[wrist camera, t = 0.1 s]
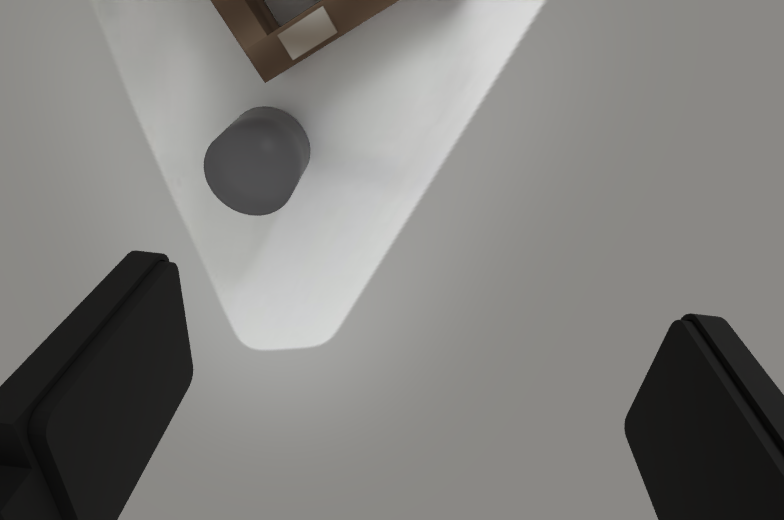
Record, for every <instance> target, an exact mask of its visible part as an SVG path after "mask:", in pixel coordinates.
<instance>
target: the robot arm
mask: <svg viewBox="0 0 784 520" xmlns="http://www.w3.org/2000/svg"><path fill="white" fill-rule="evenodd" d="M192 376H193V364H192V357H191V350H190V344H189V337H188V330H187V324H186V317H185V311H184V304H183V298H182V292H181V285H180V278H179V271H178V267H177V265H176V264H175V263H172V262H169V259H168V257H167V256H166V255H165V254H161V253H152V252H144V251H131V252H130V253H128V254H127V256H126V257H125V258H124V259H123V260H122V261H121V262H120V263H119V264H118V265H117V266H116V267H115V268H114V269H113V270H112V271H111V272H110V273H109V274H108V275H107V276H106V277H105V278H104V279H103V280H102V281H101V282H100V283H99V285H98V286H97V287H96V288H95V289H94V290H93V291H92V292H91V293H90V294H89V295H88V296H87V297H86V298H85V299H84V300H83V301H82V302H81V303H80V304H79V305H78V306H77V307H76V308H75V309H74V311H73V312H72V313H71V314H70V315H69V316H68V317H67V318H66V319H65V320H64V321H63V322H62V323H61V324H60V325H59V326H58V327H57V328H56V329H55V330H54V331H53V332H52V333H51V334H50V335H49V336H48V338H47V339H46V340H45V341H44V342H43V343H42V344H41V345H40V346H39V347H38V348H37V349H36V350H35V351H34V352H33V353H32V354H31V355H30V356H29V357H28V358H27V359H26V360H25V361H24V363H22V365H21V366H20V367H19V368H18V369H17V370H16V371H15V372H14V373H13V374H12V375H11V376H10V377H9V378H8V379H7V380H6V381H5V382H4V383H3V384H2V385H1V386H0V520H117V519H118V517H119V515H120V514H121V512H122V510H123V508H124V506H125V504H126V502H127V501H128V499H129V497H130V495H131V493H132V491H133V490H134V488H135V486H136V484H137V482H138V480H139V478H140V477H141V475H142V473H143V471H144V469H145V467H146V466H147V464H148V462H149V460H150V458H151V456H152V454H153V452H154V451H155V449H156V447H157V445H158V443H159V441H160V439H161V438H162V436H163V434H164V432H165V430H166V429H167V427H168V425H169V423H170V421H171V419H172V417H173V416H174V414H175V411H176V410H177V408H178V406H179V404H180V403H181V401H182V399H183V397H184V395H185V393H186V392H187V390H188V388H189V386H190V383H191V380H192ZM625 434H626V438H627V440H628V443H629V446H630V448H631V451H632V453H633V456H634V458H635V461H636V463H637V466H638V469H639V471H640V474H641V476H642V479H643V481H644V484H645V486H646V489H647V491H648V494H649V497H650V499H651V502H652V504H653V507H654V509H655V512H656V515H657V517H658V519H659V520H784V395H783V394H782V392H781V391H780V390H779V389H778V387H777V386H776V385H775V383H774V382H773V381H772V380H771V378H770V377H769V376H768V374H767V373H766V372H765V371H764V369H763V368H762V366H760V364H759V363H758V361H757V360H756V359H755V358H754V356H753V355H752V354H751V352H750V351H749V350H748V348H747V347H746V346H745V345H744V343H743V342H742V341H741V339H740V338H739V337H738V335H737V334H736V333H735V332H734V330H733V329H732V328H731V326H730V325H729V324H728V323H727V321H726V320H724V319H723V318H721V317H716V316H707V315H698V314H686V315H685V316H683V317H682V318H681V320H676V321H674V322H673V323H672V324H671V326H670V328H669V330H668V332H667V334H666V336H665V338H664V340H663V342H662V344H661V346H660V348H659V350H658V352H657V354H656V357H655V359H654V361H653V363H652V365H651V367H650V369H649V371H648V373H647V375H646V377H645V379H644V381H643V383H642V385H641V387H640V389H639V391H638V393H637V396H636V397H635V400H634V402H633V404H632V406H631V408H630V410H629V412H628V414H627V416H626V419H625Z"/></svg>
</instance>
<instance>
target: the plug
mask: <svg viewBox="0 0 784 520" xmlns="http://www.w3.org/2000/svg"><path fill="white" fill-rule="evenodd" d="M309 159H310V144H309V140H308V137H307V135H306V132H305V131H304V129H303V127H302V126H301V125H300V124H299V122H298V121H297V120H296V119H294V118H293V117H292V116H291V115H289V114H288V113H286V112H284V111H282V110H279V109H277V108H272V107H257V108H253V109H250V110H248V111H246V112H245V113H243V114H242V115H241V116H240V117H239V118H238V119H236V120H235V121H234V122H233V123H232V124H231V125H230V126H229V127H228V128H227V129H226V130H225V131H224V132H223V133H222V134H221V135H219V136H218V137H217V138H216V139H215V140H214V141H213V142H212V143H211V145H210V146H209V148H208V150H207V152H206V155H205V159H204V172H205V177H206V180H207V182H208V185H209V186H210V188H211V190H212V191H213V193H214V194H215V195H216V196H217V198H218V199H219V200H220V201H222V202H223V203H224V204H225V205H227V206H228V207H230V208H231V209H233V210H235V211H238V212H240V213H243V214H248V215H266V214H270V213H273V212H275V211H277V210H278V209H280V208H281V207H283V206H284V205H285V204H286V203H287V201H288V200H289V198H290V197H291V195H292V193H293V191H294V189H295V187H296V186H297V184H298V182H299V180H300V178H301V176H302V174H303V173H304V171H305V169H306V167H307V165H308V162H309Z"/></svg>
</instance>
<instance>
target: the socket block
mask: <svg viewBox="0 0 784 520" xmlns="http://www.w3.org/2000/svg"><path fill="white" fill-rule="evenodd" d="M397 1H399V0H321V1H319V2H318V3H316V4H315V5H313V6H312V7H310V8H309V9H307V10H306V11H304V12H303V13H301V14H300V15H298V16H296V17H295V18H293V19H292V20H290V21H289V22H287V23H286V24H284V25H283V26H281V27H280V26H279V25H278V23H277V22H276V20H275V18H274V17H273V15H272V13H271V12H270V10H269V8H268V7H267V5H266V4H265V2H264V0H211V2H212V3H213V5H214V6H215V8H216V9H217V11H218V12H219V14H220V15H221V17H222V18H223V20H224V21H225V23H226V24H227V26H228V27H229V29H230V30H231V32H232V33H233V35H234V36H235V38H236V40H237V41H238V43H239V44H240V46H241V47H242V49H243V50H244V52H245V53H246V55H247V56H248V58H249V59H250V61H251V62H252V64H253V65H254V67H255V68H256V70H257V71H258V73H259V74H260V76H261V77H262V79H263V80H264V82H265V83H266V82H268V81H269V80H271V79H272V78H274V77H276V76H277V75H279V74H281V73H282V72H284V71H285V70H287V69H289V68H290V67H292V66H293V65H295V64H297V63H298V62H300V61H302V60H303V59H305V58H306V57H308V56H310V55H311V54H313V53H315V52H316V51H318V50H319V49H321V48H323V47H324V46H326V45H327V44H329V43H331V42H332V41H334V40H336V39H337V38H339V37H340V36H342V35H344V34H345V33H347V32H348V31H350V30H352V29H353V28H355V27H357V26H358V25H360V24H361V23H363V22H365V21H366V20H368V19H369V18H371V17H373V16H374V15H376V14H378V13H379V12H381V11H382V10H384V9H386V8H387V7H389V6H391V5H392V4H394V3H395V2H397Z"/></svg>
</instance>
